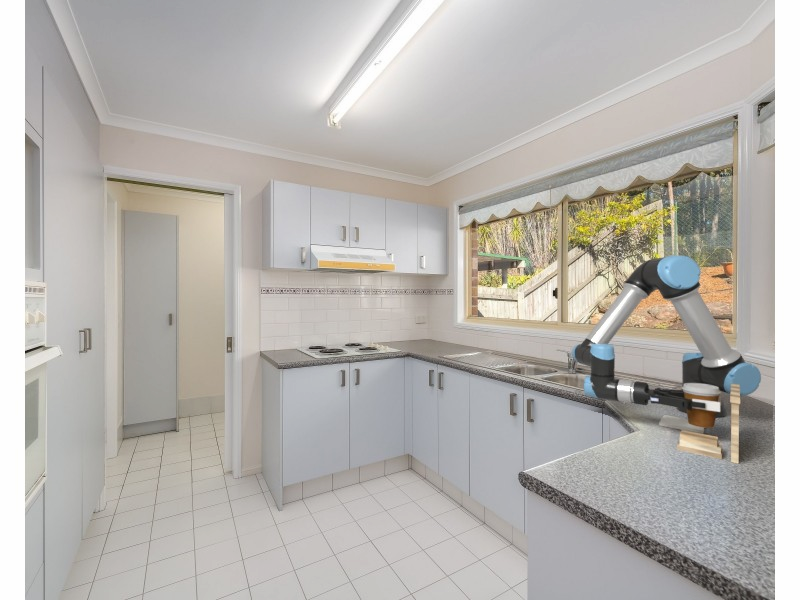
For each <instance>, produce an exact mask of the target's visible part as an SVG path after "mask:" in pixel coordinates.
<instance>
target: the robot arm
mask: <svg viewBox="0 0 800 600" xmlns="http://www.w3.org/2000/svg"><path fill="white" fill-rule="evenodd" d="M701 273H702V272H701V268H700V266H699V264H698V263H697V262H696V261H695V260H694V259H693V258H691V257H689V256H686V255H679V254H678V255H676V254H674V255H668V256H663V257H658V258H651V259H648V260H645V261H644V262H642V263H641V264H640V265H639V266H638V267H636V268H635V270H634V271H633V272H632V273H631V274H630V275H629V276H628V278H627V279H626V280H625V281H624V283H623V284H622V288H623V289H622V290H621V291H620V293H619V294H618V295H617V297H616V298H615V300H613V302H612V304H610V306H609V307H608V309H606V311H605V312H604V314H603V315H602V316H601V317H600V319H599V320H598V322H597V323H596V324H595V326H594V327H593V328H592V330H591V331H590V332H589V334H587V336H586V338H585V339H584V340H583V342H582V343H577V344H575V346H573V348H572V350H571V357H572V358H573V360H574V362H577V363H579V364H581V365H584V366H587V367H590V375H587V376H585V377H584V379H583V380H584V381H583V392H584V394H585V395H586V396H587V397H591V398H596V399H598V400H608V401H614V402H615V401H616V402H621V403H622V404H624V405H626V404H627V403H629V404H633V403H634V404H635V405H641V406H648V404H649V402H650V403H651V404H658V405H664V406H667V407H668V406H669V407H674V408H676V409H677V410H679V411H681V412H683V413H686V414H687V409H688V410H690V411H692V408H696V409H703V410H710V411H717V412H716V418H722V417H726V416H727V409H726V406H725V403H724V401H723V398H722V395H721V394H720V395H719V399H718V402H714V401H707V400H699V399H692V400H691V399H686V398H685V397H684V391H683V389H682V387H683V385H684V384H685V383H701V384H708V385H713V386H717V387H719V390H720V392H721V393H726V394H728V395H730V393H731V383H732V384H739V385H740V397H745V396H749V395H752V394H753V393H754V392H756V391H757V389H758V388H759V386H760V383H761V381H762V374H761V371H760V369H759V368H758V367H757V366H755V364H752V363H749V362H746V361H745V359H744V358H743V356H742V354H741V352H740V351H738V350H736V349H733V348H732V347H731V345H730V344H729V342H728V340H727V338H726V337H725V335H724V333H723V332H722V330H721V328H720V326H719V325H718V323H717V321H716V319H715V318H714V316H713V314H712V312H711V311H710V309H709V308H708V306H707V303H706V302H705V301H704V299H703V297H702V295H701V294H700V292H699V289H700V287H701V283H700V279H701V275H702V274H701ZM657 290H658V291H659V293H660V294H661V296H662V299H664V300H665V301H670V302H671V304H672V306H673V308H674V309H675V310H676V313H677V314H678V316H679V318H680V320H681V321H682V323H683V325H684V326H685V328H686V330H687V333H689V335H690V336H691V338H692V340H693V342H694V343H695V345H696V347H697V349H698V350H699V352H685V353H683V356H682V361H681V367H682V372H681V373H682V374H681V375H682V383H681V384H682V387H681V390H680V389H671V388H670V389H669V388H661V387H656V388H654V389H651V388H650V386H649V383H647V382H643V381H635V382H634V381H633V380H630V379H629V380H628V379H627V380H626V379H620V378H619V379H617V378H615V377H616V376H615V364H616V363H615V359H616V358H615V357H616V354H615V348H614V345H612V344H609V343H610V342H611V341H612V339H613V338H614V337H615V335H616V334H617V333H618V332H619V330H620V329H621V328H622V326H623V325H624V324H625V322H626V321H627V320H628V319H629V317H630V316H631V315H632V313H633V312H634V310H636V308H637V307H638V306H639V304H640V303H641V302H642V301H643V300H644V299H645V300H646V299H648V298H649V296H650V295H651V294H652V293H653V292H655V291H657Z"/></svg>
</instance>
